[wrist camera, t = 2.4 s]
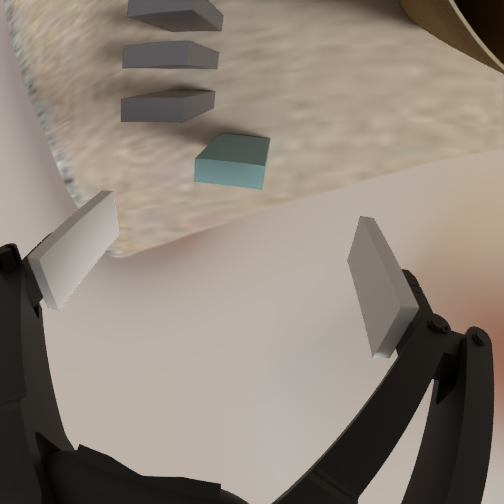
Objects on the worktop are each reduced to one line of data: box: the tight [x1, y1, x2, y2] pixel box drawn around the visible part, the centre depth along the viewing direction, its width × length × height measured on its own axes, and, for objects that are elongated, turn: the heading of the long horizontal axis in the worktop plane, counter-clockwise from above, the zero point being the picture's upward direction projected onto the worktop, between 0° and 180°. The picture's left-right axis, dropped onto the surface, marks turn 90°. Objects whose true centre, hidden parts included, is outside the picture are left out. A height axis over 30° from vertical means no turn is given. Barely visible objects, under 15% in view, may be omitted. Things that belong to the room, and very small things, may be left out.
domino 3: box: [121, 90, 215, 123], centre depth 22 cm, size 2×5×10 cm, turn 84°
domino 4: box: [194, 133, 270, 190], centre depth 25 cm, size 2×5×10 cm, turn 84°
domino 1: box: [127, 0, 223, 32], centre depth 18 cm, size 2×5×10 cm, turn 84°
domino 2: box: [122, 41, 219, 69], centre depth 20 cm, size 2×5×10 cm, turn 84°
